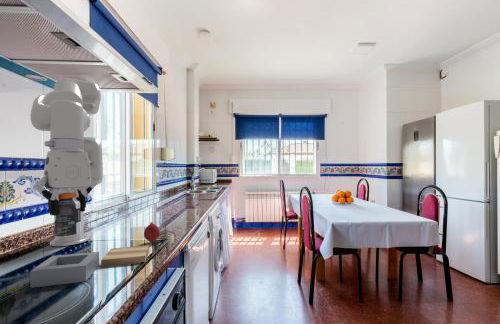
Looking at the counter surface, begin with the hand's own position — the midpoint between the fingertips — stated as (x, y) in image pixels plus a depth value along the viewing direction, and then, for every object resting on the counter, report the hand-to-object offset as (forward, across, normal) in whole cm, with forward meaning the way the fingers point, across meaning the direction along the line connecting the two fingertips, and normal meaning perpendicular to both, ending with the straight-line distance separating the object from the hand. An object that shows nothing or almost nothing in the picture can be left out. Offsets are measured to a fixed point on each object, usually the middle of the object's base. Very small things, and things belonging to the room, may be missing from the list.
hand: (67, 212), depth 73 cm
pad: (+17, +16, -2) cm, 24 cm away
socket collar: (+17, 0, 0) cm, 17 cm away
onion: (+17, +33, +6) cm, 37 cm away
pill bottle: (+6, 0, 0) cm, 6 cm away
